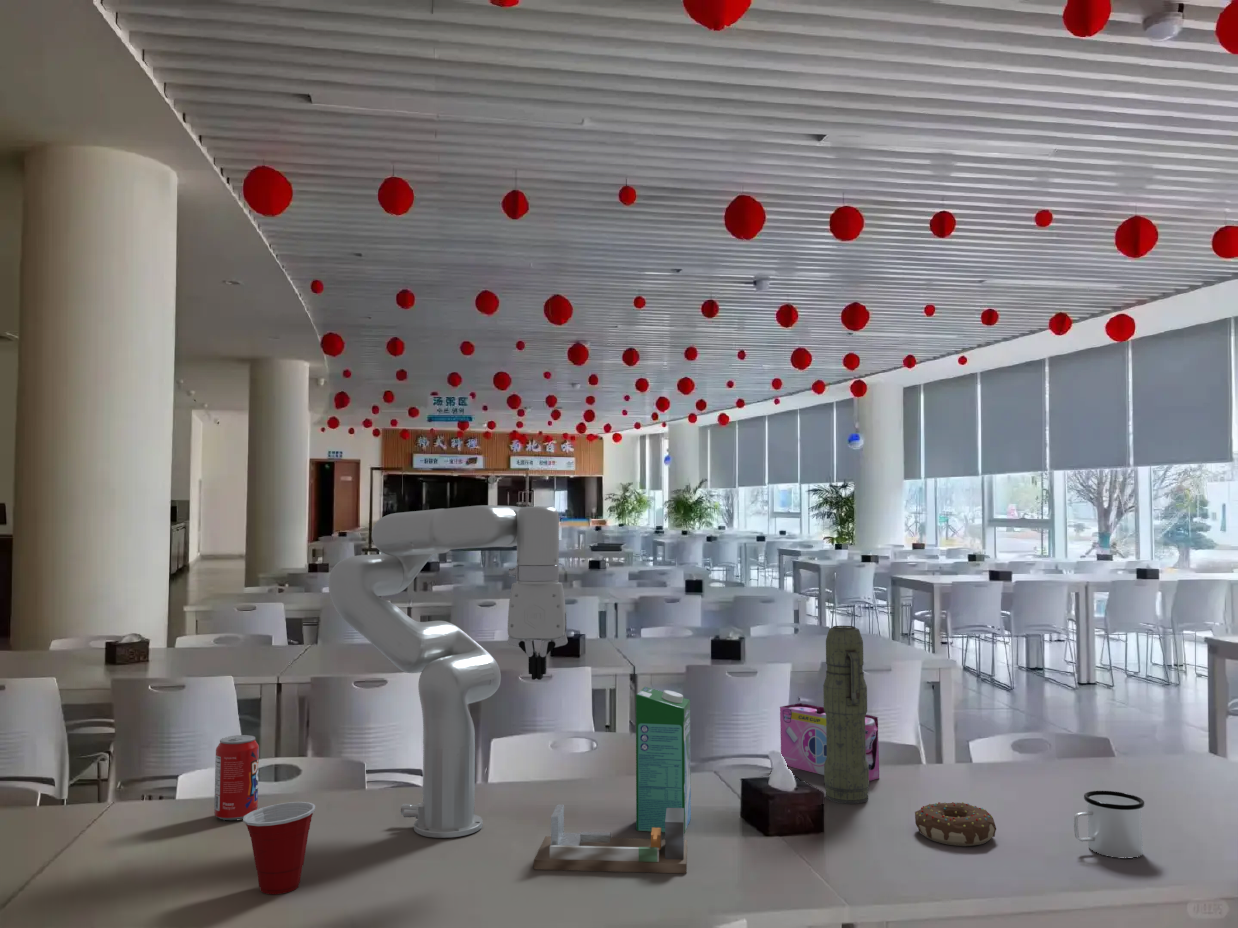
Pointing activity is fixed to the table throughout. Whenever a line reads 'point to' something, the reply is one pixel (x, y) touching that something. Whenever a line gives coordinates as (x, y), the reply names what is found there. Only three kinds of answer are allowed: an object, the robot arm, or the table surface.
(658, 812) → the milk carton
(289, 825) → the plastic cup
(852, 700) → the thermos
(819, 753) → the gum box
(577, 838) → the plunger
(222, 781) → the soda can
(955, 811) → the donut
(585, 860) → the base
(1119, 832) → the mug
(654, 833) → the pointer
